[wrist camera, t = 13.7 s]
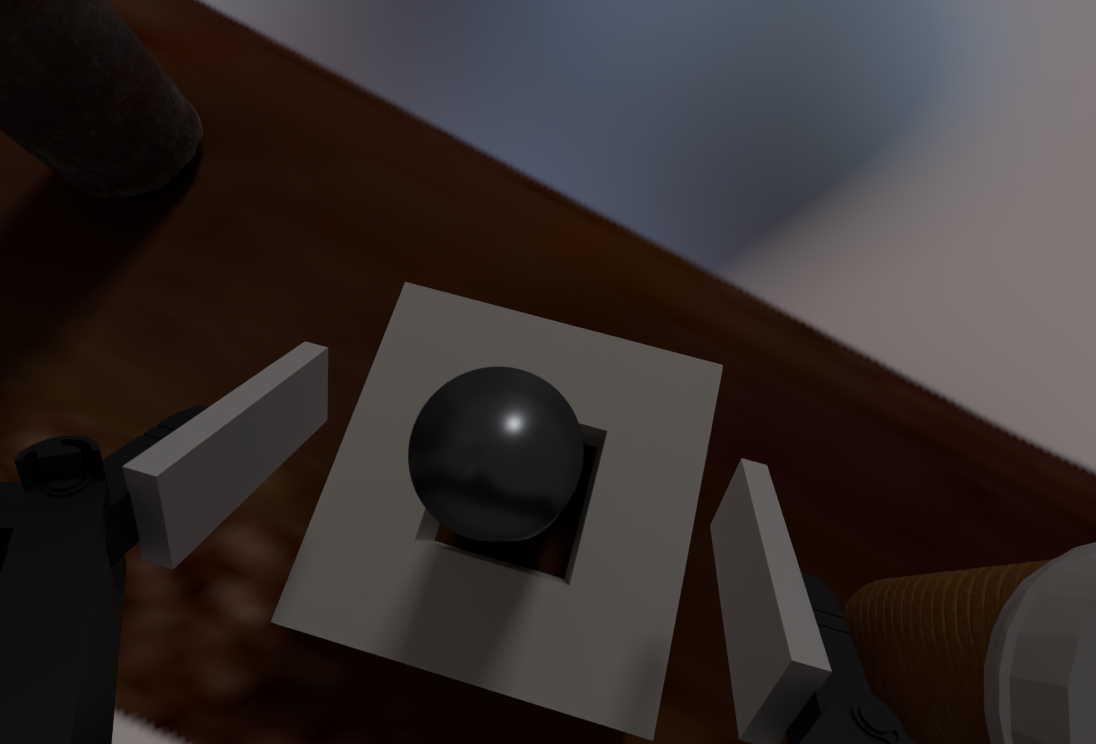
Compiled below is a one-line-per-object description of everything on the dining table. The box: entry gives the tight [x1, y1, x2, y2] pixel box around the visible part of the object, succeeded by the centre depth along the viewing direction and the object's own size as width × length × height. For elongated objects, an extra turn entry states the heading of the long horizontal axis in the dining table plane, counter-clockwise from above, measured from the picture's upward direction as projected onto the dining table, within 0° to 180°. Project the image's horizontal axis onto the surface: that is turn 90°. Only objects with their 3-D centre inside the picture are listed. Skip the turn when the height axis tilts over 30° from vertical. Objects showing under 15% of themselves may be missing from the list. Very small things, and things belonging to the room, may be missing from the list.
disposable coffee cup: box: [842, 542, 1096, 744], centre depth 17 cm, size 10×10×12 cm
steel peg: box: [408, 366, 584, 542], centre depth 19 cm, size 4×4×13 cm
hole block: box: [271, 282, 723, 741], centre depth 23 cm, size 14×14×4 cm
